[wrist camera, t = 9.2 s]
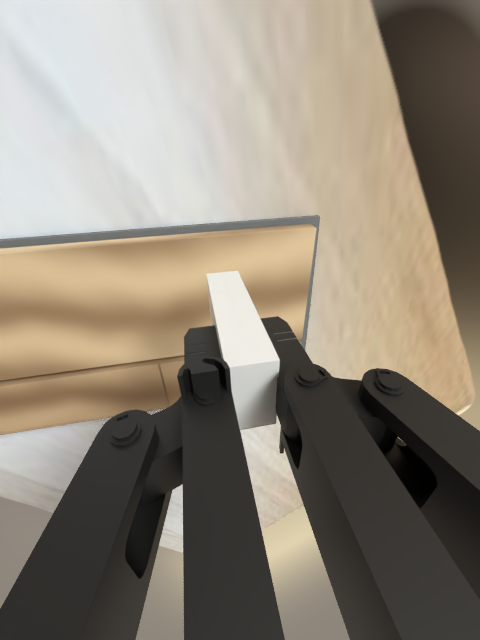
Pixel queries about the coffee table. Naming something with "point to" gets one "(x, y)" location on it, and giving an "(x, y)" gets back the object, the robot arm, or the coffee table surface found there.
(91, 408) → the laid plank
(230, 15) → the coffee table surface
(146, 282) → the board
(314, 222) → the underlay
